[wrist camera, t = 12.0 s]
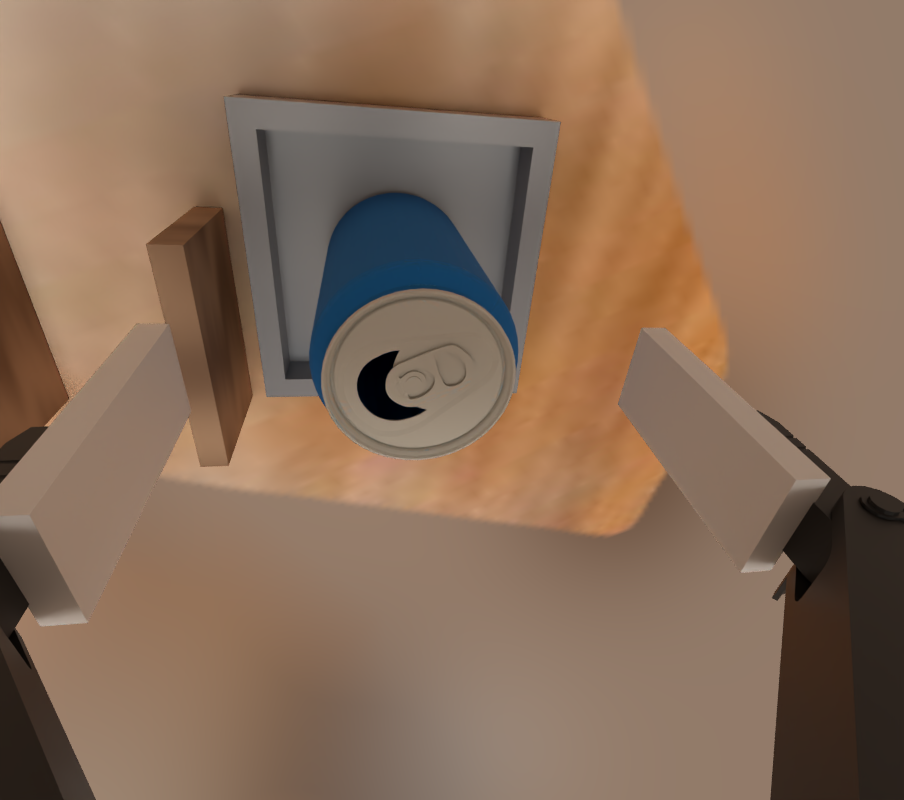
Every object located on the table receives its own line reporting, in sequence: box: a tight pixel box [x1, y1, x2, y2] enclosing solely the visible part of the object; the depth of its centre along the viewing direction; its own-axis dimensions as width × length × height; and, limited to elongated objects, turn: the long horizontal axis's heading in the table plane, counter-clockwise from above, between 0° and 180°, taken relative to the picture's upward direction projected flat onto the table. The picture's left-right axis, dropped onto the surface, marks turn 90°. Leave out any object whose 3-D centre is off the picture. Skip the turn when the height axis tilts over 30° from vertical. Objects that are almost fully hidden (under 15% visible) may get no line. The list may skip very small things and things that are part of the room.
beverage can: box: [309, 193, 518, 460], centre depth 20 cm, size 6×6×12 cm
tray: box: [224, 94, 561, 397], centre depth 24 cm, size 13×13×2 cm
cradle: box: [0, 207, 252, 467], centre depth 22 cm, size 10×10×6 cm
